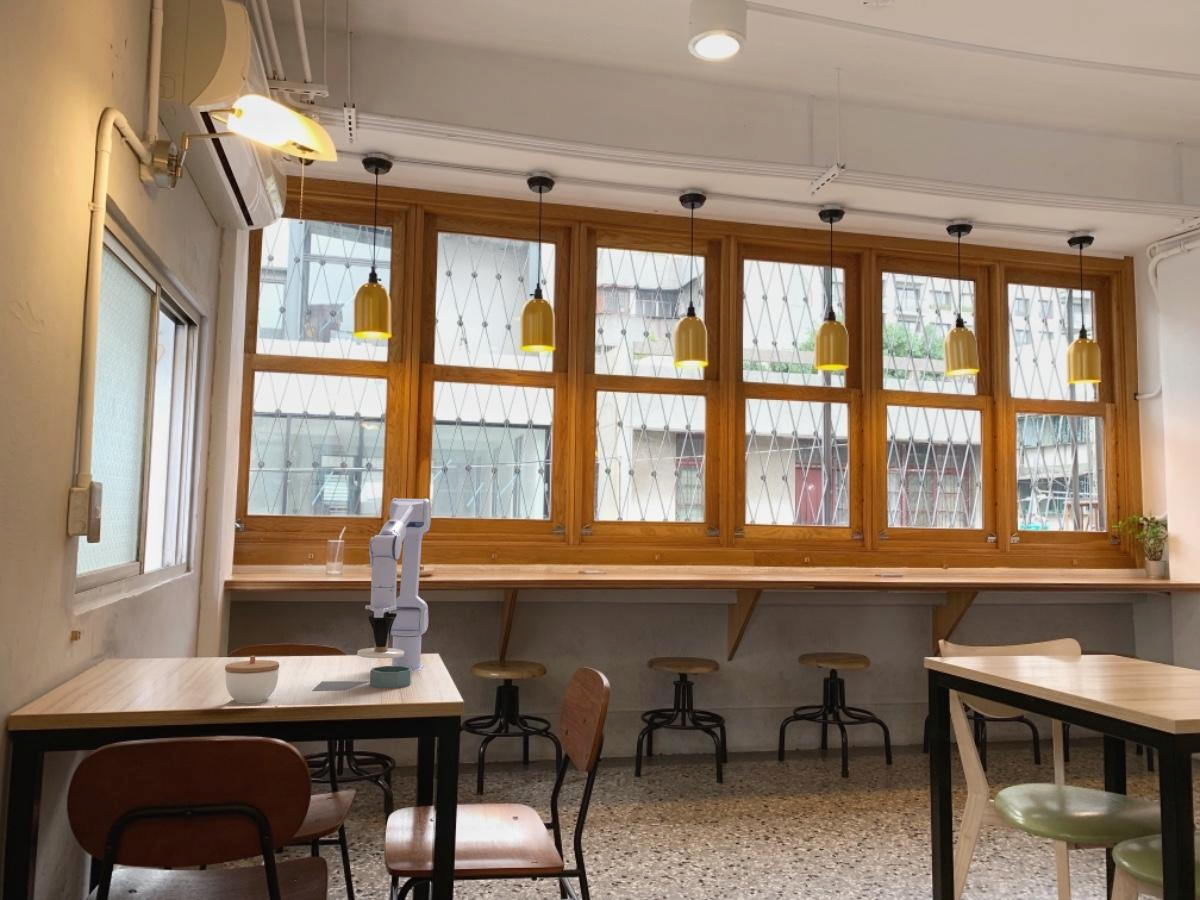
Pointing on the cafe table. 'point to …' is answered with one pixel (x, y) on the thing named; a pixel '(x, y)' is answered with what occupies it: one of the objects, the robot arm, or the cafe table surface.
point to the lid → (381, 652)
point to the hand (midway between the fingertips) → (381, 645)
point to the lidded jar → (251, 680)
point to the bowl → (390, 676)
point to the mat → (337, 685)
